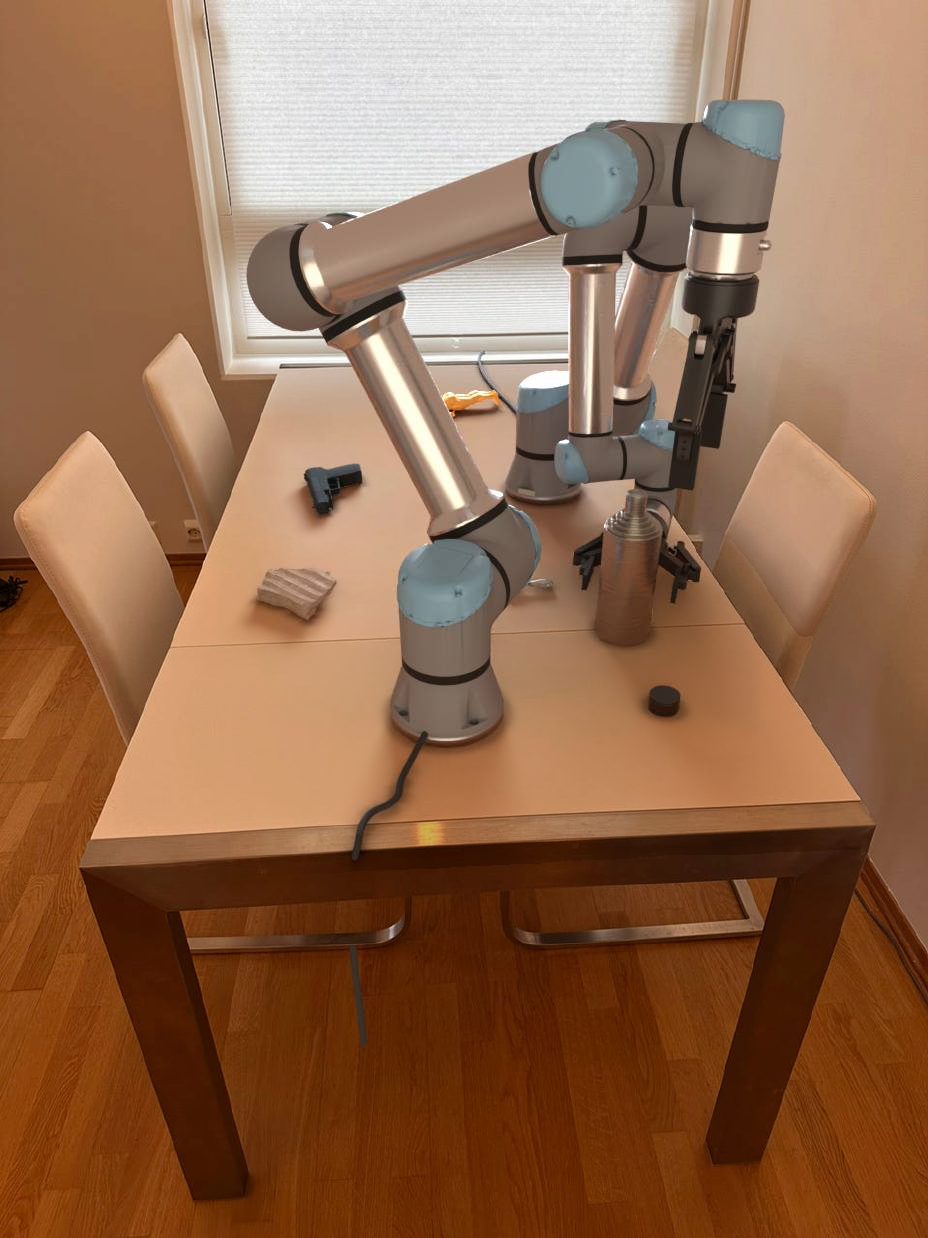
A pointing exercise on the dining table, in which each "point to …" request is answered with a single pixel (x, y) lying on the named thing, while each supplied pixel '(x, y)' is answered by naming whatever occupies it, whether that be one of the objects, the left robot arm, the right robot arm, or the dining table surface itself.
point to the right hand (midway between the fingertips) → (628, 589)
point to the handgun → (330, 484)
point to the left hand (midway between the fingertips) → (695, 466)
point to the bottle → (628, 573)
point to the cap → (664, 701)
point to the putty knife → (540, 583)
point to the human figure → (467, 399)
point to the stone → (296, 589)
